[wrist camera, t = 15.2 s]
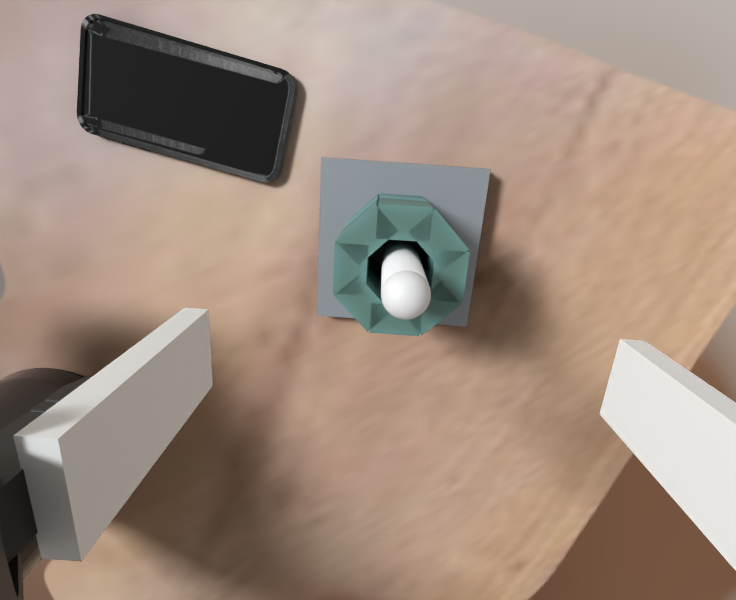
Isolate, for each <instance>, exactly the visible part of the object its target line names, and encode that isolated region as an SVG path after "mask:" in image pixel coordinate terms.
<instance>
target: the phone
mask: <svg viewBox="0 0 736 600" xmlns="http://www.w3.org/2000/svg"><path fill="white" fill-rule="evenodd" d="M296 97H297V84H296V81H295V79H294V78H293V76H291V75H290V74H289V73H288V72H287V71H285V70H283V69H281V68H277V67H274V66H270V65H267V64H264V63H260V62H257V61H254V60H250V59H247V58H244V57H240V56H237V55H233V54H230V53H227V52H223V51H220V50H217V49H213V48H210V47H207V46H203V45H200V44H197V43H193V42H190V41H186V40H183V39H180V38H176V37H173V36H170V35H166V34H163V33H160V32H156V31H153V30H149V29H146V28H143V27H139V26H136V25H133V24H129V23H126V22H123V21H119V20H116V19H113V18H109V17H106V16H102V15H99V14H91V15H88V16H87V17H86V18H85V19H84V20H83V22H82V25H81V36H80V57H79V77H78V98H77V118H78V121H79V123H80V125H81V126H82V128H83V129H84V130H86V131H87V132H89V133H91V134H94V135H98V136H101V137H105V138H107V139H110V140H114V141H119V142H122V143H124V144H127V145H131V146H134V147H138V148H140V149H144V150H147V151H154V152H158V153H161V154H165V155H168V156H172V157H175V158H179V159H182V160H186V161H189V162H193V163H196V164H200V165H203V166H207V167H210V168H214V169H217V170H221V171H225V172H228V173H232V174H235V175H239V176H242V177H246V178H249V179H253V180H256V181H260V182H270V181H274V180H275V179H277V178H278V177H279V175H280V174H281V171H282V167H283V163H282V161H283V162H284V157H285V152H286V147H287V142H288V137H289V132H290V127H291V122H292V117H293V112H294V107H295V102H296Z"/></svg>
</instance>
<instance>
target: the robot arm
mask: <svg viewBox="0 0 736 600" xmlns="http://www.w3.org/2000/svg"><path fill="white" fill-rule="evenodd" d="M212 386H213V384H212V365H211V347H210V329H209V311H208V309H195V308H184V309H182V310H181V311H180V312H178V313H177V314H176V315H174V316H173V317H171V318H170V319H169V320H167V321H166V322H165V323H163V324H162V325H161V326H159V327H158V328H157V329H155V330H154V331H153V332H151V333H150V334H149V335H147V336H146V337H145V338H143V339H142V340H141V341H139V342H138V343H137V344H135V345H134V346H133V347H131V348H130V349H129V350H127V351H126V352H125V353H123V354H122V355H121V356H119V357H118V358H117V359H115V360H114V361H113V362H111V363H110V364H108V365H107V366H106V367H104V368H103V369H102V370H100V371H99V372H98V373H96V374H95V375H94V376H92V377H81V376H79V375H76V374H73V373H70V372H67V371H63V370H57V369H50V368H34V369H27V370H23V371H19V372H16V373H13V374H11V375H9V376H7V377H5V378H4V379H2V380H0V600H23V599H24V597H23V580H24V579H25V578H26V577H27V576H28V574H29V573H30V572H31V571H32V570H33V569H34V567H35V566H36V565H37V564H38V563H39V561H40V560H41V559H42V558H44V559H56V560H69V561H82V560H83V559H84V557H85V556H86V555H87V553H88V552H89V551H90V549H91V548H92V547H93V545H94V544H95V543H96V541H97V540H98V539H99V537H100V536H101V534H102V533H103V532H104V530H105V529H106V528H107V526H108V525H109V524H110V522H111V521H112V520H113V518H114V517H115V516H116V514H117V513H118V512H119V510H120V509H121V508H122V506H123V505H124V504H125V502H126V501H127V500H128V498H129V497H130V496H131V494H132V493H133V492H134V490H135V489H136V488H137V486H138V485H139V484H140V482H141V481H142V480H143V478H144V477H145V476H146V474H147V473H148V472H149V470H150V469H151V468H152V466H153V465H154V464H155V462H156V461H157V460H158V458H159V457H160V456H161V454H162V453H163V452H164V450H165V449H166V448H167V446H168V445H169V444H170V442H171V441H172V440H173V438H174V437H175V436H176V434H177V433H178V432H179V430H180V429H181V428H182V426H183V425H184V424H185V422H186V421H187V420H188V418H189V417H190V415H191V414H192V413H193V411H194V410H195V409H196V407H197V406H198V405H199V403H200V402H201V401H202V399H203V398H204V397H205V395H206V394H207V393H208V391H209V390H210V389H211V387H212ZM600 415H601V416H602V417H603V419H604V420H605V421H606V422H607V423H608V424H609V425H610V427H611V428H612V429H613V430H614V431H615V432H616V434H617V435H618V436H619V437H620V438H621V439H622V440H623V442H624V443H625V444H626V445H627V446H628V447H629V449H630V450H631V451H632V452H633V453H634V454H635V455H636V456H637V457H638V459H639V460H640V461H641V462H642V463H643V464H644V466H645V467H646V468H647V469H648V470H649V472H650V473H651V474H652V475H653V476H654V477H655V478H656V479H657V480H658V482H659V483H660V484H661V485H662V486H663V487H664V489H665V490H666V491H667V492H668V493H669V495H670V496H671V497H672V498H673V499H674V500H675V501H676V503H677V504H678V505H679V506H680V507H681V508H682V509H683V511H684V512H685V513H686V514H687V515H688V516H689V518H690V519H691V520H692V521H693V522H694V523H695V524H696V526H697V527H698V528H699V529H700V530H701V531H702V532H703V534H704V535H705V536H706V537H707V538H708V539H709V540H710V542H711V543H712V544H713V545H714V546H715V547H716V549H717V550H718V551H719V552H720V553H721V554H722V555H723V557H724V558H725V559H726V560H727V561H728V562H729V564H730V565H731V566H732V567H733V568H734V569H735V570H736V403H735V402H734V401H732V400H731V399H729V398H728V397H727V396H725V395H724V394H722V393H720V392H719V391H718V390H716V389H715V388H713V387H712V386H710V385H709V384H707V383H706V382H704V381H703V380H701V379H700V378H699V377H697V376H696V375H694V374H693V373H691V372H690V371H688V370H687V369H685V368H684V367H682V366H681V365H679V364H678V363H676V362H675V361H673V360H672V359H670V358H669V357H668V356H666V355H665V354H663V353H662V352H660V351H659V350H657V349H656V348H654V347H653V346H651V345H650V344H648V343H647V342H645V341H641V340H627V339H620V341H619V345H618V348H617V352H616V356H615V359H614V363H613V367H612V370H611V374H610V378H609V381H608V385H607V389H606V392H605V396H604V400H603V403H602V407H601V411H600Z"/></svg>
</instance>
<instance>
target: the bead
mask: <svg viewBox="0 0 736 600" xmlns="http://www.w3.org/2000/svg"><path fill="white" fill-rule="evenodd" d="M389 239H390V240H405V241H417V242H418V243H419V245H420V246H421V247H422V248H421V258H420V261H421V264H422V267H423V270H424V272H425V275H426V278H427V281H428V284H429V287H430V290H431V299H430V303H429V305H428V307H427V309H426V310H425V311H424V312H423V313H422V314H421V315H419V316H418V317H416V318H413V319H407V320H406V319H399V318H396V317H394V316H392V315H391V314H390V313H389V312H388V311H387V310H386V309H385V307H384V306H383V303H382V300H381V276H382V267H381V266H380V265H379V264H378V263H377V262H376V261H375V260H374V258H373V257H372V256H371V254H372V253H373V252H375V251H376V250H377V249H378V248H379V247H380V246H382V245H383V244H384V243H385V242H386V241H387V240H389ZM468 250H469V249H468V248H467V246H466V245H465V244H464V243H463V242H462V240H461V239H460V238H459V237H458V236H457V234H456V233H455V232H454V231H453V229H452V228H451V227H450V226H449V225H448V223H447V222H446V221H445V220H444V218H443V217H442V216H441V215H440V214H439V212H438V211H437V210H436V209H435V208H434V207H433V206H432V205H431V204H430V203H429V202H428V201H427V200H426V199H425V198H424V197H422V196H413V195H398V194H383V193H380V196H379V194H377V195H376V196H375V197H374V198H373V199H372V200H371V201H370V202H369V203H367V204H366V205H365V206H364V207H363V208H362V209H361V210H360V211H359V212H357V213H356V214H355V215H354V216H353V217H352V218H351V219H350V220H349V221H348V222H347V223H346V225H345V226H344V228H343V230H342V231H341V233H340V235H339V236H338V238H337V239H336V242H335V249H334V276H333V294H334V297H335V298H336V299H337V300H338V301H339V302H340V303H341V304H342V305H343V306H344V307H345V308H346V309H347V310H348V311H349V312H350V314H351V315H352V316H353V317H354V318H355V319H356V320H357V321H358V322H359V323H360V324H361V325H362V326H363V327H364V328H365V329H366V331H367V332H368V331H369V330H370V333H382V334H396V335H410V336H419V335H420V334H421V335H423V334H424V333H425V332H427V331H428V330H429V329H431V328H432V327H433V326H435V325H436V324H437V323H438V322H440V321H441V320H442V319H444V318H445V317H446V316H448V315H449V314H450V313H451V312H453V311H454V310H455V309H457V308H458V307H459V306H460V305H462V304H461V303H463V297H464V290H465V283H466V276H467V269H468V261H469V254H470V252H469V251H468ZM460 302H461V303H460Z"/></svg>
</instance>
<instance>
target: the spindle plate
mask: <svg viewBox="0 0 736 600" xmlns="http://www.w3.org/2000/svg"><path fill="white" fill-rule="evenodd" d="M490 170H491V169H482V168H467V167H453V166H439V165H424V164H410V163H396V162H381V161H367V160H352V159H338V158H324V157H321V188H320V221H319V255H318V288H317V316H330V317H344V318H354V317H353V316H352V315H351V314H350V312H349V311H348V310H347V309H346V308H345V307H344V306H343V305H342V304H341V303H340V302H339V301H338V300H337V299H336V298H335V297H334V294H333V276H334V249H335V242H336V239H337V238H338V236H339V235H340V233H341V231H342V230H343V228H344V226H345V225H346V223H347V222H348V221H349V220H350V219H351V218H352V217H353V216H354V215H355V214H356V213H357V212H359V211H360V210H361V209H362V208H363V207H364V206H365V205H366V204H367V203H369V202H370V201H371V200H372V199H373V198H374V197H375V196H376V195H377V194H379V196H380V193H383V194H398V195H413V196H422V197H424V198H425V199H426V200H427V201H428V202H429V203H430V204H431V205H432V206H433V207H434V208H435V209H436V210H437V211H438V212H439V214H440V215H441V216H442V217H443V218H444V220H445V221H446V222H447V223H448V225H449V226H450V227H451V228H452V229H453V231H454V232H455V233H456V234H457V236H458V237H459V238H460V239H461V240H462V242H463V243H464V244H465V245H466V246H467V248H468V249H469V250H468V251H469V252H470V254H469V261H468V269H467V276H466V283H465V290H464V297H463V303H461V302H460V303H461V304H462V305H460V306H459V307H458V308H457V309H455V310H454V311H453V312H451V313H450V314H449V315H448V316H446V317H445V318H444V319H442V320H441V321H440V322H438V323H437V325H450V326H463V327H467V323H468V316H469V310H470V303H471V296H472V290H473V283H474V276H475V270H476V263H477V256H478V250H479V243H480V236H481V230H482V223H483V217H484V210H485V203H486V197H487V190H488V183H489V177H490ZM421 248H422V247H421V246H420V245H419V243H418V242H417V241H405V240H390V239H389V240H387V241H386V242H385V243H384V244H383V245H382V246H380V247H379V248H378V249H377V250H376V251H375V252H373V253H372V254H371V256H372V257H373V258H374V260H375V261H376V262H377V263H378V264H379V265H380V266H381V267H382V276H381V300H382V303H383V306H384V307H385V309H386V310H387V311H388V312H389V313H390V314H391V315H392V316H394V317H396V318H399V319H406V320H407V319H413V318H416V317H418V316H419V315H421V314H422V313H423V312H424V311H425V310H426V309H427V307H428V305H429V303H430V299H431V290H430V287H429V284H428V281H427V278H426V275H425V272H424V270H423V267H422V264H421V261H420V258H421Z"/></svg>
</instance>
